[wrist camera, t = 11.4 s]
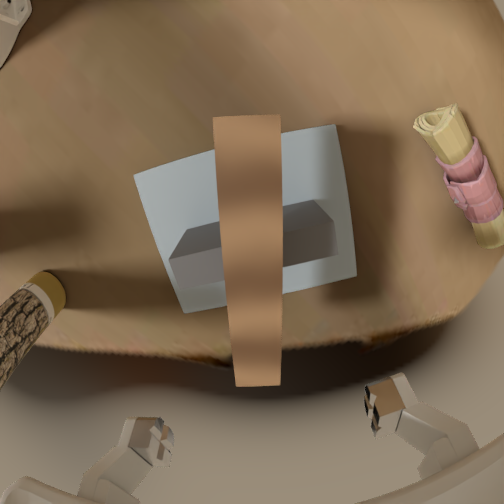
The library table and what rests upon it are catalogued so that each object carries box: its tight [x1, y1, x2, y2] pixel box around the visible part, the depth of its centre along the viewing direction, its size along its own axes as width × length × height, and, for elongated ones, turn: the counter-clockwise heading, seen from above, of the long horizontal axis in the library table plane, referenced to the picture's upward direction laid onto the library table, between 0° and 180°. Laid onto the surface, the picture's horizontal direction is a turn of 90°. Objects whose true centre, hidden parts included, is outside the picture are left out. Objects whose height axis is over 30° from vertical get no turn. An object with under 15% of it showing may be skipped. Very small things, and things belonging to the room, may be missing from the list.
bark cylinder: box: [0, 272, 66, 390], centre depth 24 cm, size 7×7×25 cm
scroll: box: [413, 103, 504, 249], centre depth 27 cm, size 8×8×20 cm
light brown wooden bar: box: [213, 115, 283, 387], centre depth 22 cm, size 22×4×4 cm, turn 2°
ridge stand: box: [134, 124, 357, 314], centre depth 28 cm, size 22×18×9 cm
